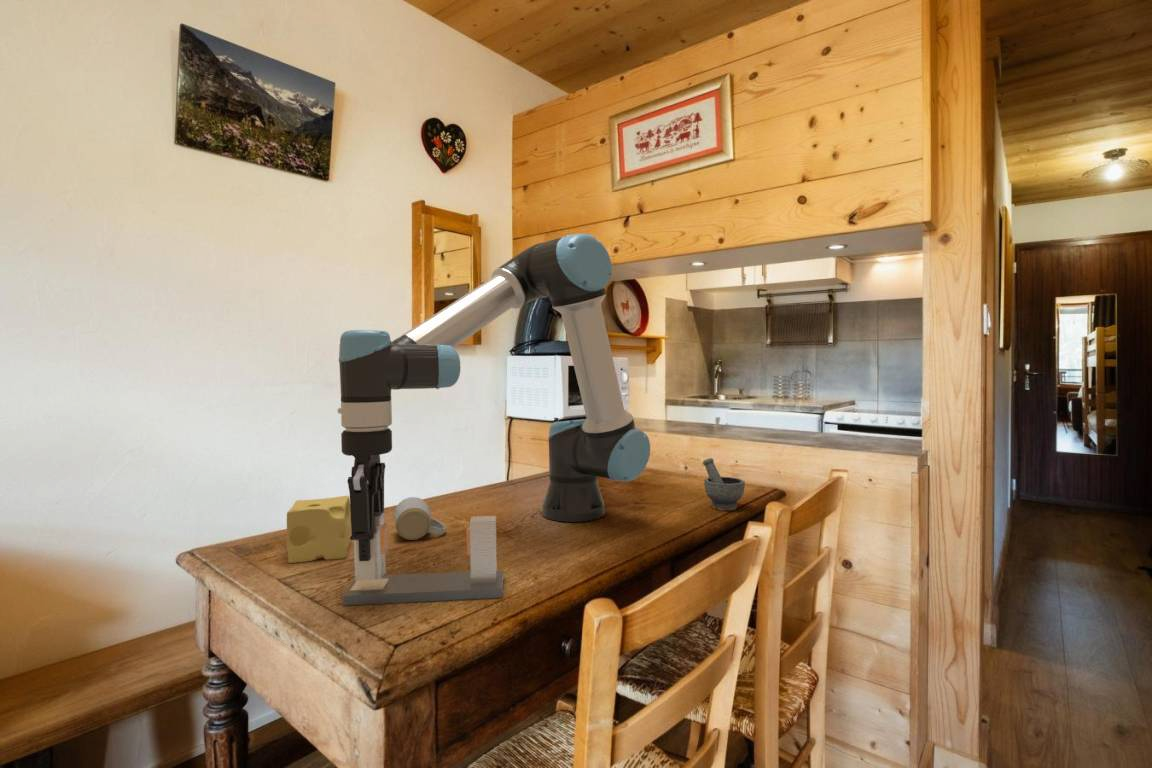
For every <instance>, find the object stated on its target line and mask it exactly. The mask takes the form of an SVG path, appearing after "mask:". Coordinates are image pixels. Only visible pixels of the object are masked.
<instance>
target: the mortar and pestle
mask: <svg viewBox="0 0 1152 768" xmlns="http://www.w3.org/2000/svg"><path fill="white" fill-rule="evenodd" d="M714 462H715V460H714V458H707V459H704V460H703V461H702V464H703V466H704V467H705V469H706V472H707V474H708V477H707V478H705V479H704V482H703V483H704V491H705V493H706V495H707V497H708V498H709V499H710V500H711V507H712V506H713V507H715V508H719V509H726V510H730V511H736V510H737V509H738V504H737V502H738V501H739V500H740V499H741V498H742V497H743V495H744V493H745V486H746V485H745V484H746V481H745V480H744V479H742V478H737V477H729V476H721V475H720V473H719V471H718V469H717V466H716V465H715V463H714ZM736 508H737V509H736Z"/></svg>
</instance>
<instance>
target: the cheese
mask: <svg viewBox="0 0 1152 768" xmlns="http://www.w3.org/2000/svg"><path fill="white" fill-rule="evenodd" d="M351 534H352V532H351V511H350V495H342V496H341V495H340V496H333V497H326V498H316V499H314V498H313V499H298V500H295V502H294V504H293V505H292V507H291V508H290V509H288V510H287V512H286V550H287V552H286V553H287V558H288V559H287V560H288V564H295V563H297V562H298V563H303V562H304V563H306V562H312V561H316V560H319V559H324V560H340V559H346V558H347V552H348V548H349V546H350V541H351V540H350V537H351Z"/></svg>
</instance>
